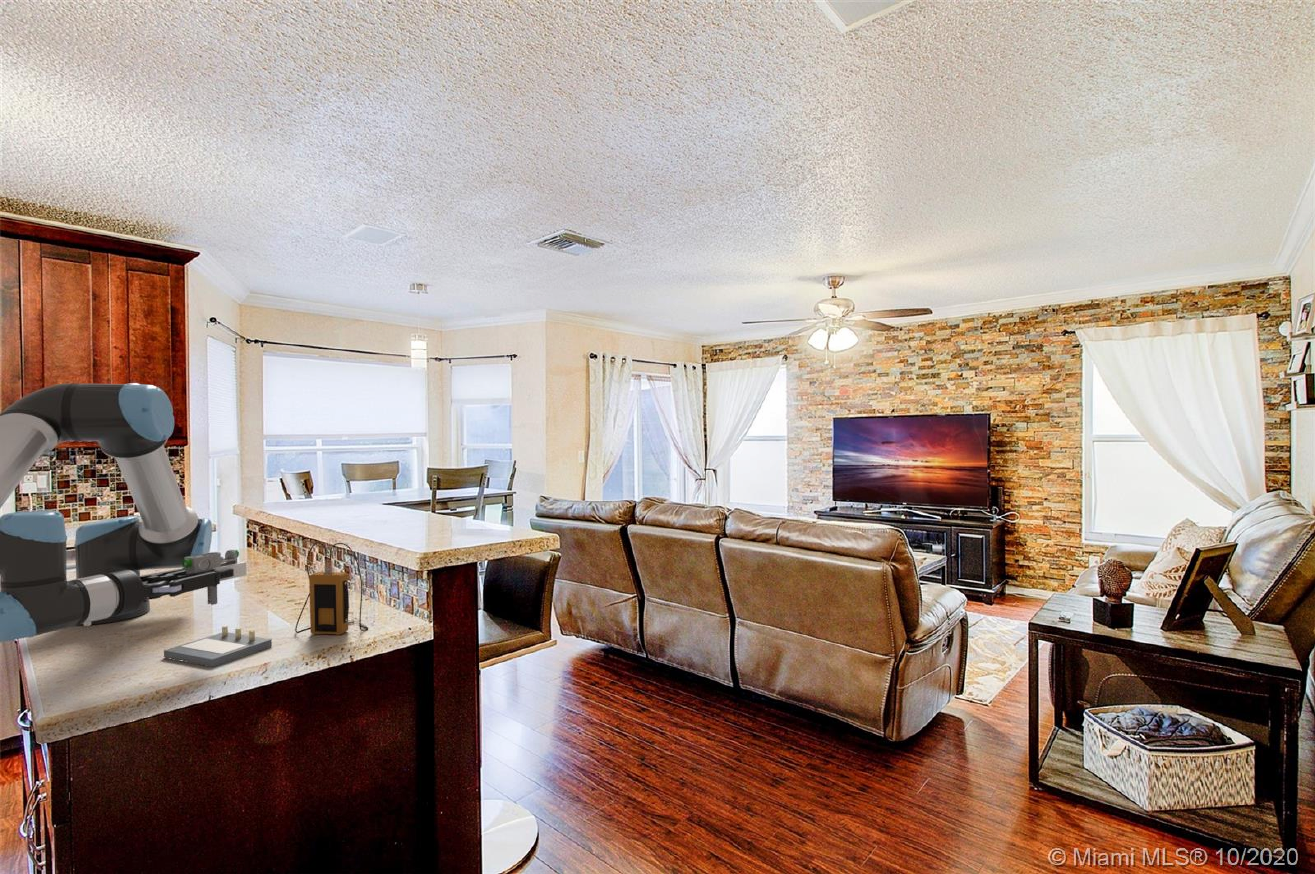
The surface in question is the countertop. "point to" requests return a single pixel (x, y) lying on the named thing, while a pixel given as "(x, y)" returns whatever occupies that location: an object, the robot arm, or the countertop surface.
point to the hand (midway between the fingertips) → (238, 567)
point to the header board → (219, 648)
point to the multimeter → (329, 600)
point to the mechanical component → (209, 567)
